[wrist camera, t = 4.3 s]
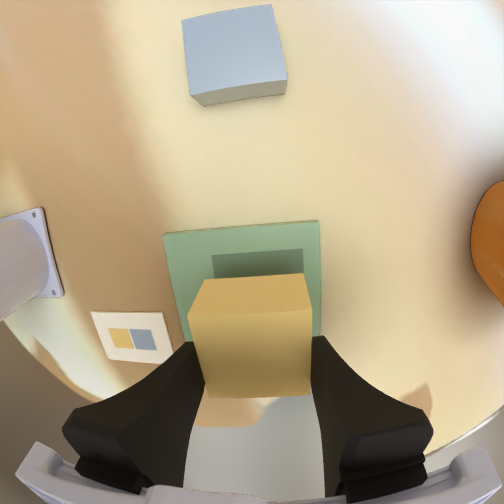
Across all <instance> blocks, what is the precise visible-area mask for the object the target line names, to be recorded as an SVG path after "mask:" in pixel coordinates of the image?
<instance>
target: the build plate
mask: <svg viewBox="0 0 504 504" xmlns="http://www.w3.org/2000/svg"><path fill="white" fill-rule="evenodd" d="M162 236H163V242H164V247H165V253H166V258H167V263H168V268H169V273H170V278H171V283H172V288H173V292H174V297H175V301H176V306H177V310H178V314H179V318H180V322H181V326H182V330H183V334H184V338H185V342H186V341H193V338H192V334H191V330H190V326H189V322H188V318H187V315H188V313H189V311H190V308H191V306H192V304H193V302H194V300H195V298H196V296H197V294H198V292H199V290H200V288H201V286H202V284H203V282H204V280H205V279H222V278H239V277H254V276H269V275H284V274H297V273H303V274H304V278H305V282H306V286H307V290H308V294H309V298H310V302H311V306H312V337H313V336H320V318H321V262H320V227H319V221H318V220H314V221H299V222H285V223H271V224H258V225H246V226H234V227H222V228H211V229H200V230H190V231H179V232H169V233H165V234H163V235H162Z"/></svg>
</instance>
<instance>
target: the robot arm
mask: <svg viewBox="0 0 504 504" xmlns="http://www.w3.org/2000/svg"><path fill="white" fill-rule="evenodd" d="M35 213H36V215H35ZM55 292H56V293H55ZM63 294H64V293H63V289H62V286H61V282H60V279H59V276H58V272H57V269H56V265H55V261H54V257H53V253H52V249H51V245H50V241H49V237H48V232H47V227H46V222H45V217H44V212H43V209H42V208H41V207H38V208H35V209H31V210H28V211H24V212H21V213H17V214H14V215H11V216H8V217H5V218H1V219H0V322H1V321H2V320H3V319H5V318H6V317H7V316H9V315H10V314H11V313H12V312H14V311H15V310H16V309H18V308H19V307H21V306H22V305H23V304H25V303H26V302H27V301H29V300H30V299H32V298H33V297H51V298H60V297H62V296H63ZM310 381H311V389H312V394H313V398H314V403H315V407H316V411H317V416H318V420H319V425H320V430H321V439H322V449H323V463H324V481H325V498H319V499H309V500H298V501H277V502H276V501H275V502H267V501H266V500H264V499H263V498H259V497H256V496H252V495H244V494H235V493H234V494H233V493H219V492H208V491H200V490H192V489H184V488H183V480H184V472H185V463H186V457H187V450H188V445H189V439H190V434H191V430H192V426H193V423H194V420H195V417H196V414H197V411H198V408H199V405H200V402H201V398H202V395H203V392H204V387H205V380H204V377H203V373H202V370H201V366H200V363H199V359H198V355H197V352H196V348H195V345H194V342H193V341H186V342H185V343H184V344H183V345H182V346H181V347H180V348H179V349H178V350H176V351H175V352H174V353H173V354H172V355H171V356H170V357H169V358H168V359H167V360H166V361H165V362H163V363H162V364H161V365H160V366H159V367H158V368H156V369H155V370H154V371H153V372H151V373H150V374H149V375H148V376H146V377H145V378H144V379H142V380H141V381H139V382H138V383H136V384H134V385H133V386H131V387H130V388H128V389H126V390H124V391H122V392H120V393H118V394H116V395H114V396H112V397H110V398H107V399H105V400H103V401H100V402H97V403H94V404H91V405H87V406H84V407H80V408H76V409H74V410H73V412H72V413H71V415H70V416H69V418H68V419H67V421H66V422H65V424H64V425H63V427H62V432H63V434H64V437H65V438H66V440H67V441H68V442H69V443H70V445H71V446H72V447H73V448H74V450H75V451H76V452H77V453H78V454H79V455H80V458H79V460H78V462H77V464H76V465H74V464H71V463H69V462H67V461H64V460H63V459H62V458H61V457H60V455H59V454H58V453H57V452H55V451H54V450H53V449H51V448H49V447H47V446H45V445H43V444H41V443H39V442H35V444H34V445H33V447H32V448H31V450H30V451H29V453H28V454H27V456H26V458H25V459H24V461H23V462H22V464H21V465H20V467H19V469H18V470H17V472H16V473H15V475H16V477H18V478H19V479H20V480H21V481H22V482H23V483H24V484H25V485H27V486H28V487H29V488H30V489H31V490H32V491H34V492H35V493H36V494H37V495H38V496H40V497H41V498H42V499H44V500H45V501H46V502H48V503H50V504H482V503H483V502H484V501H485V500H487V499H488V498H489V497H490V496H491V495H493V493H495V492H496V491H497V490H498V489H499V488H501V486H502V483H501V481H500V478H499V476H498V474H497V472H496V470H495V468H494V466H493V464H492V461H491V459H490V457H489V455H488V453H487V451H486V449H485V448H484V446H483V444H479V445H477V446H475V447H473V448H471V449H468V450H466V451H464V452H462V453H461V454H459V455H457V456H456V457H455V458H454V459H453V460H452V461H451V463H450V465H448V466H446V467H444V468H441V469H438V470H436V471H433V472H430V473H428V474H427V473H426V470H425V467H424V464H423V463H424V462H425V457H424V454H423V452H424V450H425V448H426V447H427V445H428V443H429V442H430V440H431V438H432V436H433V428H432V426H431V423H430V421H429V420H428V418H427V416H426V415H425V413H424V412H423V410H421V409H419V408H416V407H413V406H410V405H407V404H405V403H402V402H400V401H398V400H396V399H394V398H392V397H390V396H388V395H386V394H384V393H383V392H381V391H379V390H378V389H376V388H375V387H373V386H372V385H370V384H369V383H368V382H366V381H365V380H364V379H363V378H361V377H360V376H359V375H358V374H357V373H356V372H355V371H354V370H353V369H352V368H350V366H349V365H348V364H347V363H346V362H345V361H344V360H343V359H342V358H341V357H340V356H339V354H338V353H337V352H336V351H335V350H334V348H333V347H332V346H331V344H330V343H329V342H328V340H327V339H326V337H324V336H313V337H312V342H311V377H310Z"/></svg>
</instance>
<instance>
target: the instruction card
mask: <svg viewBox="0 0 504 504" xmlns="http://www.w3.org/2000/svg"><path fill="white" fill-rule="evenodd" d="M91 315H92V318H93V321H94V324H95V326H96V329H97V332H98V334H99V337H100V340H101V342H102V345H103V347H104V350H105V352H106V354H107V357H108V359H113V360H122V361H132V362H143V363H157V364H162V363H163V362H165V361H166V360H167V359H168V358H169V357H170V356H171V355H172V354H173V353H174V350H173V347H172V344H171V340H170V337H169V333H168V329H167V326H166V322H165V318H164V314H163V312H105V311H91Z"/></svg>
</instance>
